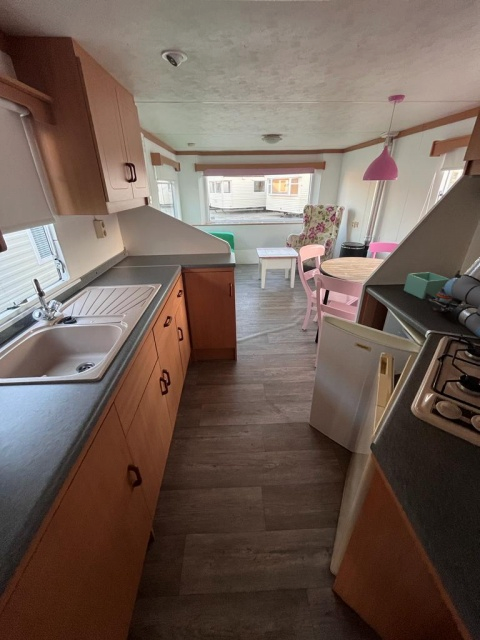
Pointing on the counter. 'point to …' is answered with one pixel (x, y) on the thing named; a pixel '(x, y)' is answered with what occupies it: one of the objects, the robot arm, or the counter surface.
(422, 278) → the waste bin
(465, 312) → the robot arm
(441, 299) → the supplement bottle
